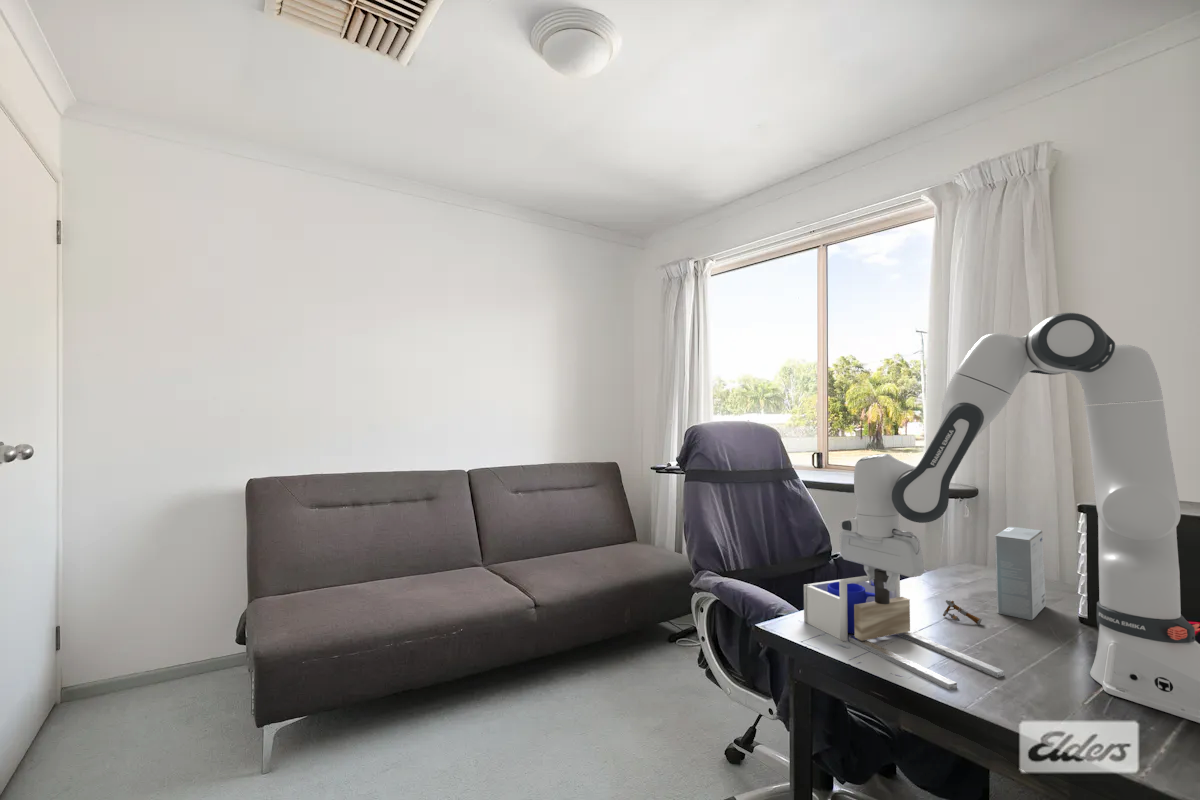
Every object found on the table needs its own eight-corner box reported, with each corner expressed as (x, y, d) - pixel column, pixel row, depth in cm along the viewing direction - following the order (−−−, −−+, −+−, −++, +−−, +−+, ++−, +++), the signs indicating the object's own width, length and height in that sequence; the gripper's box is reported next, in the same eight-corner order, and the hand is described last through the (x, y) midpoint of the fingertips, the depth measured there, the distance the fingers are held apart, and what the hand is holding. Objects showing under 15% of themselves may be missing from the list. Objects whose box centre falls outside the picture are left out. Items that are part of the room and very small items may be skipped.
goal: (902, 630, 133) (901, 572, 133) (843, 641, 127) (843, 580, 127) (858, 612, 145) (857, 558, 145) (803, 621, 139) (802, 565, 139)
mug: (882, 642, 126) (881, 596, 126) (825, 632, 132) (824, 588, 133) (887, 630, 133) (885, 587, 133) (832, 621, 139) (831, 580, 139)
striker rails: (1004, 675, 110) (1004, 670, 110) (949, 689, 104) (949, 684, 105) (898, 631, 132) (898, 627, 132) (849, 641, 127) (849, 636, 127)
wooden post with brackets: (940, 611, 143) (948, 596, 142) (974, 632, 138) (983, 617, 136) (938, 613, 142) (946, 598, 140) (972, 634, 136) (981, 619, 135)
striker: (912, 631, 129) (910, 569, 129) (863, 641, 123) (862, 575, 124) (900, 627, 131) (899, 565, 132) (852, 636, 126) (851, 572, 127)
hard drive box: (1010, 599, 154) (1009, 526, 155) (1046, 606, 149) (1044, 530, 149) (995, 613, 144) (994, 534, 144) (1033, 621, 138) (1031, 539, 139)
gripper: (929, 531, 120) (933, 598, 119) (853, 518, 139) (857, 575, 138) (907, 535, 118) (911, 602, 117) (833, 521, 137) (837, 579, 136)
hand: (881, 587), depth 128 cm, fingers closed on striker, 2 cm apart
